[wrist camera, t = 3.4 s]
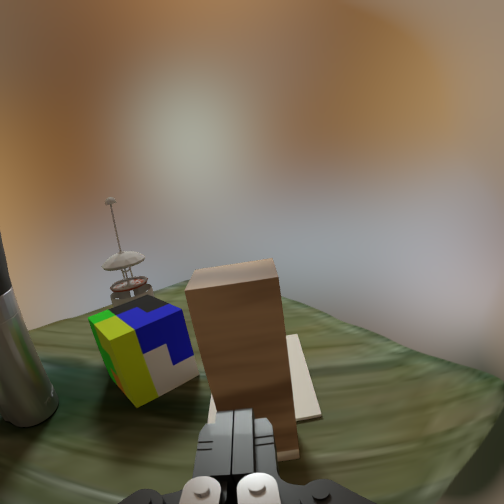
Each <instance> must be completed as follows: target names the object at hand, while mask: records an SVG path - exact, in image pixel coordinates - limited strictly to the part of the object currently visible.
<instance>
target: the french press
mask: <svg viewBox="0 0 504 504" xmlns="http://www.w3.org/2000/svg"><path fill="white" fill-rule="evenodd" d="M115 202H116V201H115V199H114V198H112V197H109V198H107V199H106V201H105V204H106V205H109V204H110V207H111V212H112V217H113V222H114V227H115V231H116V236H117V240H118V245H119V249H120V252H119V253H117V254H115V255H113V256H111V257H110V258H109V259H108V260H107V261H106V262H105V263H104V264H103V266H102V268H103V269H104V270H107V271H113V270H120V269H121V271H122V273H123V277H124V280H123V279H122V280H121V281H117V282H115V283H114V284H113V285H112V286H111V287H110V289H111V290H112V291H113V292H114V293H112V294H111V300H112V304H113V307H116V306H119V305H121V304H124V303H127V302H129V301H132V300H134V299H137V298H139V297H142V296H145V295H147V294H148V295H151V296H153V297H154V295H153V290H152V286H151V285H150V284H146V283H147V279H148V278H146V277H144V276H140V277H133V275H132V271H131V266H134V265H136V264H139V263H141V262H142V261H144V259H145V256H144V255H142V254H140V253H138V252H133V251H128V252H124V251H121V248H120V244H119V239H118V235H117V230H116V225H115V220H114V215H113V211H112V204H113V203H115ZM127 267H129V270H130V272H131V276H132V278H128V277H127V273H126V272H128V271H129V270H125V268H127ZM123 269H124V270H125V271H123ZM124 272H125V274H126V277H127V278H126V279H125V276H124ZM130 290H133V291H134V295H135V297H132V298H131V295H130ZM147 290H148V291H147ZM146 291H147V292H146ZM115 298H119V299H115Z"/></svg>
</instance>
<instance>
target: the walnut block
mask: <svg viewBox="0 0 504 504" xmlns="http://www.w3.org/2000/svg"><path fill="white" fill-rule="evenodd" d="M185 295H186V299H187V303H188V307H189V311H190V315H191V319H192V323H193V327H194V331H195V335H196V339H197V343H198V347H199V350H200V354H201V358H202V362H203V365H204V369H205V372H206V376H207V379H208V383H209V386H210V390H211V393H212V397H213V400H214V403H215V407H216V410H217V411H227V410H236V409H245V408H253V411H254V415H255V419H260V418H267V419H268V421H269V422H270V423H271V424H272V427H273V433H274V438H275V443H276V449H277V458H278V462H279V461H286V460H292V459H299V458H300V456H299V446H298V436H297V427H296V418H295V408H294V400H293V391H292V382H291V373H290V365H289V357H288V348H287V340H286V332H285V324H284V316H283V309H282V301H281V293H280V286H279V278H278V275H277V271H276V268H275V265H274V261H273V259H272V258H270V259H263V260H256V261H250V262H244V263H237V264H230V265H224V266H217V267H211V268H203V269H197V270H195V271H194V273H193V275H192V277H191V279H190V281H189V283H188V285H187V287H186V289H185Z"/></svg>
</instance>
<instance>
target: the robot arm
mask: <svg viewBox="0 0 504 504" xmlns="http://www.w3.org/2000/svg"><path fill="white" fill-rule="evenodd" d="M58 403H59V399H58V396H57V394H56V392H55V390H54V388H53V386H52V384H51V382H50V380H49V378H48V376H47V374H46V372H45V369H44V367H43V365H42V363H41V361H40V359H39V356H38V354H37V352H36V349H35V347H34V345H33V342H32V340H31V337H30V335H29V332H28V330H27V328H26V325H25V322H24V320H23V317H22V314H21V311H20V308H19V306H18V303H17V300H16V297H15V294H14V290H13V287H12V284H11V281H10V278H9V273H8V268H7V262H6V257H5V252H4V248H3V244H2V239H1V233H0V414H1V415H2V417H3V418H4V420H5V421H10V422H11V423H12V424H14V425H16V426H19V427H29V426H34V425H36V424H39V423H41V422H43V421H44V420H46V419H47V418H49V417H50V416H51V415H52V414H53V413H54V411H55V410H56V408H57V406H58ZM118 504H376V503H374V502H372V501H370V500H368V499H366V498H364V497H362V496H360V495H358V494H356V493H354V492H352V491H351V490H349V489H347V488H345V487H343V486H341V485H340V484H338V483H336V482H334V481H332V480H328V479H318V480H314V481H311V482H309V483H308V484H306V485H305V486H303V485H293V484H289V483H287V482H285V481H283V480H282V479H281V478H280V477H279V468H278V458H277V449H276V443H275V438H274V433H273V427H272V424H271V423H270V422H269V421H268V419H267V418H260V419H255V415H254V411H253V408H245V409H236V410H227V411H217V412H216V419H215V423H210V424H205V426H204V427H203V428H202V430H201V431H200V433H199V440H198V446H197V452H196V458H195V465H194V471H193V477H192V479H191V480H190V481H188V482H187V483H186V484H185V486H184V488H183V489H182V490H180V491H178V492H174V493H170V494H165V495H160V494H159V493H158V492H157V491H155V490H152V489H141V490H138V491H136V492H134V493H133V494H131V495H130V496H128V497H127V498H125V499H124V500H123V501H121V502H120V503H118Z"/></svg>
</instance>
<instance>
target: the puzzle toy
mask: <svg viewBox="0 0 504 504" xmlns="http://www.w3.org/2000/svg"><path fill="white" fill-rule="evenodd" d="M88 320H89V323H90V326H91V329H92V332H93V334H94V337H95V340H96V343H97V345H98V348H99V350H100V353H101V356H102V358H103V361H104V363H105V366H106V368H107V370H108V373H109V375H110V377H111V378H112V380H113V381H114V382H115V383H116V384H117V386H118V387H119V388H120V389H121V390H122V392H123V393H124V394H125V395H126V396H127V397H128V399H129V400H130V401H131V402H132V403H133V404H134V405H135V406H136V408H138V407H140V406H142V405H144V404H146V403H148V402H150V401H152V400H154V399H156V398H158V397H159V396H161V395H163V394H165V393H167V392H169V391H171V390H172V389H174V388H176V387H178V386H180V385H182V384H183V383H185V382H187V381H189V380H191V379H192V378H194V377H196V376H198V375H200V374H199V371H198V367H197V364H196V360H195V357H194V353H193V350H192V346H191V342H190V338H189V335H188V331H187V327H186V323H185V319H184V315H183V311H182V309H180V308H178V307H176V306H173V305H171V304H169V303H166V302H164V301H162V300H160V299H157V298H155V297H153V296H151V295H148V294H147V295H145V296H142V297H139V298H137V299H134V300H132V301H129V302H127V303H124V304H121V305H119V306H116V307H114V308H111V309H108V310H106V311H103V312H101V313H98V314H96V315H93V316H90V317H88Z"/></svg>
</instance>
